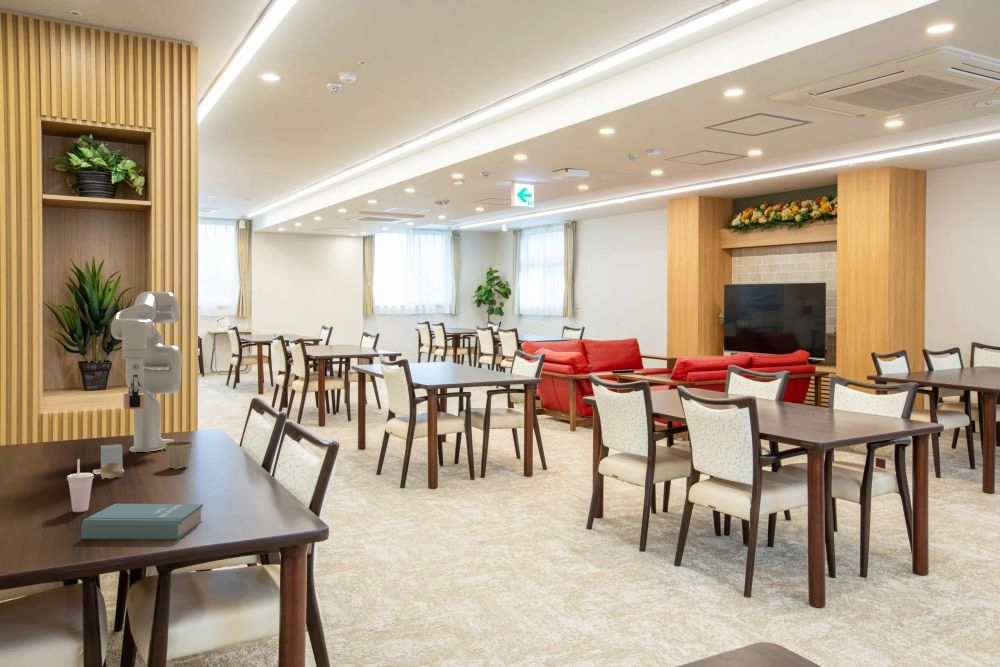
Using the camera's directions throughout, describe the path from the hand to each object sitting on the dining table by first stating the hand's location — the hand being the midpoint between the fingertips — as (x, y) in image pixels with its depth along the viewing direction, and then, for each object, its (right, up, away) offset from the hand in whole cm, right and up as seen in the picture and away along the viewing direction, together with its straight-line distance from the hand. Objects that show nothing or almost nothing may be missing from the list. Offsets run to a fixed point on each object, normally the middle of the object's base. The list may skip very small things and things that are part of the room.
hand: (133, 405), depth 256 cm
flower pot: (+15, -22, 0) cm, 27 cm away
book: (+39, -25, -73) cm, 87 cm away
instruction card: (-5, -22, -7) cm, 23 cm away
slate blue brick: (0, -17, -14) cm, 22 cm away
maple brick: (0, -22, -14) cm, 26 cm away
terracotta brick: (0, -1, 0) cm, 1 cm away
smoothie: (+13, -23, -56) cm, 62 cm away
